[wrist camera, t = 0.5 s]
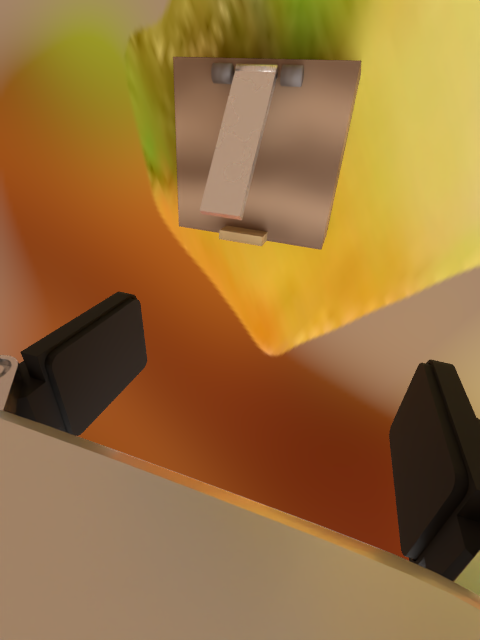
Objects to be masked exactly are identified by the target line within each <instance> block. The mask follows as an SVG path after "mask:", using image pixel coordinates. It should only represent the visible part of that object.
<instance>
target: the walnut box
mask: <svg viewBox="0 0 480 640" xmlns="http://www.w3.org/2000/svg"><path fill="white" fill-rule="evenodd" d="M173 62H174V92H175V121H176V151H177V180H178V210H179V226H181V227H187V228H193V229H200V230H206V231H212V232H218V233H219V239H223V240H229V241H235V242H241V243H247V244H253V245H258V246H262V245H263V244H264V243H265V242H266V241H272V242H278V243H284V244H290V245H296V246H302V247H308V248H315V249H322V246H323V243H324V240H325V237H326V234H327V229H328V224H329V220H330V215H331V210H332V206H333V201H334V196H335V192H336V187H337V182H338V178H339V173H340V168H341V164H342V159H343V154H344V150H345V145H346V140H347V136H348V131H349V126H350V122H351V117H352V112H353V108H354V103H355V98H356V94H357V89H358V84H359V80H360V75H361V61H348V60H301V59H254V58H207V57H173ZM236 64H263V65H278V78H277V80H276V84H275V88H274V92H273V96H272V100H271V104H270V108H269V112H268V116H267V120H266V124H265V128H264V132H263V136H262V140H261V144H260V148H259V152H258V156H257V161H256V165H255V169H254V173H253V177H252V181H251V185H250V189H249V193H248V197H247V201H246V205H245V209H244V213H243V217H242V220H238V219H231V218H225V217H218V216H212V215H205V214H202V213H201V212H200V207H201V203H202V199H203V195H204V191H205V187H206V183H207V179H208V175H209V171H210V167H211V164H212V160H213V156H214V152H215V148H216V144H217V140H218V136H219V132H220V128H221V124H222V120H223V116H224V112H225V109H226V105H227V101H228V97H229V93H230V89H231V85H232V81H233V77H234V73H235V67H236Z"/></svg>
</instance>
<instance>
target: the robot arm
mask: <svg viewBox="0 0 480 640" xmlns="http://www.w3.org/2000/svg"><path fill="white" fill-rule="evenodd" d="M21 354H22V357H23V359H24V361H23V362H21V363H20V364H19V363H18V361H17V360H16V359H15V358H14V357H11V356H5V355H0V640H480V420H479V419H478V418H476V416H475V414H474V411H473V409H472V406H471V404H470V402H469V399H468V397H467V395H466V393H465V390H464V388H463V386H462V383H461V381H460V379H459V376H458V374H457V371H456V369H455V367H454V366H453V365H452V364H448V363H444V362H439V361H434V360H429V361H428V362H427V363H426V364H425V363H420V364H419V366H418V368H417V370H416V372H415V374H414V376H413V378H412V381H411V383H410V385H409V387H408V390H407V392H406V394H405V396H404V399H403V401H402V403H401V405H400V407H399V409H398V412H397V414H396V416H395V418H394V421H393V423H392V425H391V429H390V434H389V437H390V438H389V439H390V448H391V457H392V467H393V477H394V486H395V496H396V505H397V515H398V524H399V533H400V543H401V551H402V553H403V555H404V556H406V557H409V561H408V560H406V559H403V558H401V557H399V556H396V555H394V554H391V553H389V552H386V551H384V550H381V549H378V548H376V547H374V546H371V545H368V544H366V543H363V542H361V541H358V540H356V539H353V538H351V537H348V536H345V535H343V534H340V533H337V532H335V531H333V530H330V529H327V528H325V527H322V526H320V525H317V524H314V523H312V522H309V521H306V520H303V519H301V518H298V517H296V516H293V515H290V514H287V513H285V512H282V511H279V510H277V509H274V508H271V507H269V506H266V505H263V504H260V503H258V502H255V501H252V500H250V499H247V498H244V497H242V496H239V495H236V494H234V493H231V492H228V491H226V490H223V489H220V488H217V487H215V486H212V485H209V484H206V483H204V482H201V481H198V480H195V479H193V478H190V477H187V476H185V475H182V474H179V473H176V472H174V471H171V470H168V469H166V468H163V467H160V466H157V465H155V464H152V463H149V462H146V461H144V460H141V459H138V458H136V457H132V456H130V455H127V454H125V453H122V452H119V451H116V450H114V449H111V448H108V447H105V446H102V445H100V444H97V443H94V442H91V441H88V440H86V439H83V438H80V437H77V436H78V435H80V434H81V433H83V432H84V431H85V430H86V428H87V427H88V426H89V425H90V424H91V423H92V422H93V421H94V420H95V419H96V418H97V417H98V416H99V415H100V414H101V413H102V412H103V411H104V410H105V409H106V407H107V406H108V405H109V404H110V403H111V402H112V401H113V400H114V399H115V398H116V397H117V396H118V395H119V394H120V393H121V392H122V391H123V390H124V389H125V387H126V386H127V385H128V384H129V383H130V382H131V381H132V380H133V379H134V378H135V377H136V376H137V375H138V374H139V373H140V372H141V371H142V370H143V368H144V367H145V365H146V363H147V355H146V346H145V339H144V330H143V322H142V314H141V305H140V302H139V300H137V298H136V296H135V295H132V294H128V293H123V292H117V293H115V294H114V295H112V296H110V297H109V298H107V299H105V300H104V301H102V302H101V303H99V304H97V305H96V306H94V307H92V308H91V309H89V310H88V311H86V312H84V313H83V314H81V315H80V316H78V317H76V318H75V319H73V320H71V321H70V322H68V323H67V324H65V325H63V326H62V327H60V328H59V329H57V330H55V331H54V332H52V333H50V334H49V335H47V336H46V337H44V338H42V339H41V340H39V341H38V342H36V343H34V344H33V345H31V346H29V347H28V348H27V349H25V350H23V351H21Z"/></svg>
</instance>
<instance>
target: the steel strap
mask: <svg viewBox="0 0 480 640" xmlns="http://www.w3.org/2000/svg"><path fill="white" fill-rule="evenodd" d="M277 78H278V65H263V64H236V67H235V73H234V77H233V81H232V85H231V89H230V93H229V97H228V101H227V105H226V109H225V112H224V116H223V120H222V124H221V128H220V132H219V136H218V140H217V144H216V148H215V152H214V156H213V160H212V164H211V167H210V171H209V175H208V179H207V183H206V187H205V191H204V195H203V199H202V203H201V207H200V212H201V213H202V214H205V215H212V216H218V217H225V218H231V219H238V220H242V217H243V213H244V209H245V205H246V201H247V197H248V193H249V189H250V185H251V181H252V177H253V173H254V169H255V165H256V161H257V156H258V152H259V148H260V144H261V140H262V136H263V132H264V128H265V124H266V120H267V116H268V112H269V108H270V104H271V100H272V96H273V92H274V88H275V84H276V80H277Z"/></svg>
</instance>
